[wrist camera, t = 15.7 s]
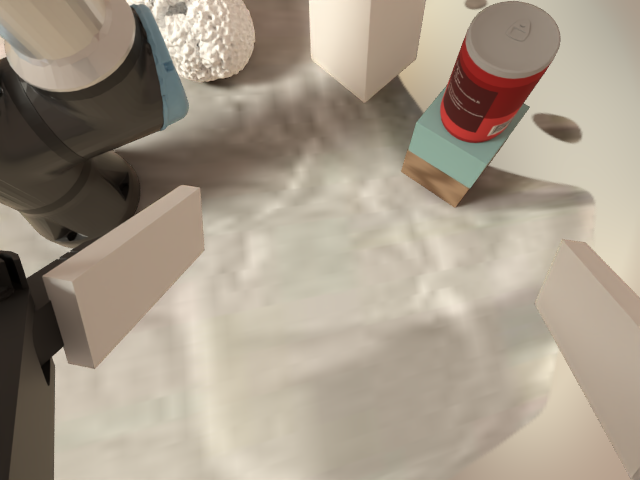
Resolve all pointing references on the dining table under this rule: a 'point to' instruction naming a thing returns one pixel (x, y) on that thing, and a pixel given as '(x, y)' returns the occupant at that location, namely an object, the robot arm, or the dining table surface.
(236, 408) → the dining table surface
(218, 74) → the cauliflower
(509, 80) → the canned food
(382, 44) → the milk
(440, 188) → the walnut block
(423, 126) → the teal block
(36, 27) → the robot arm
